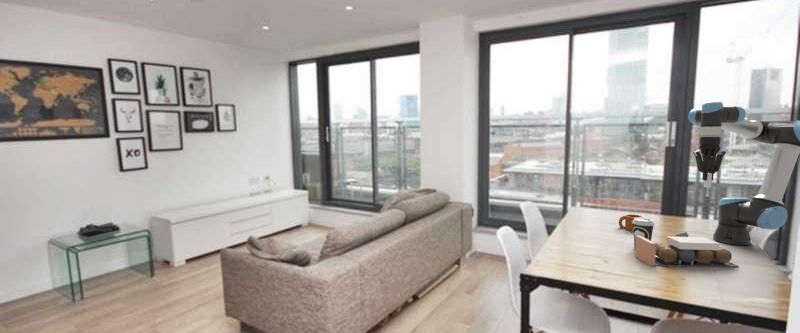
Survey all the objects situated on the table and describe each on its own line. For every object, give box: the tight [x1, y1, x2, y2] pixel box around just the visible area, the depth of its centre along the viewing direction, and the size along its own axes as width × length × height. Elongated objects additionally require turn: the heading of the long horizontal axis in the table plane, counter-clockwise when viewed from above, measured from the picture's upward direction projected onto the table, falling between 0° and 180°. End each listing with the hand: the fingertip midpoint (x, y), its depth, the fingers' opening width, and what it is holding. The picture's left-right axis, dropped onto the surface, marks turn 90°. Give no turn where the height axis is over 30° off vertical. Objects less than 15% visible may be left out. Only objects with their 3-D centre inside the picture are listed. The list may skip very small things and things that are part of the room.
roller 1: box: [655, 242, 677, 262], centre depth 178 cm, size 10×6×6 cm, turn 175°
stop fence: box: [634, 235, 657, 267], centre depth 179 cm, size 2×13×10 cm, turn 175°
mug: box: [618, 213, 644, 232], centre depth 231 cm, size 9×12×9 cm
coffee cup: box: [632, 217, 655, 249], centre depth 196 cm, size 10×10×15 cm
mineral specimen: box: [672, 232, 689, 237], centre depth 192 cm, size 10×8×10 cm
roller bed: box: [654, 255, 739, 268], centre depth 178 cm, size 34×14×2 cm, turn 85°
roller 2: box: [667, 244, 695, 263], centre depth 178 cm, size 10×6×6 cm, turn 175°
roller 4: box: [710, 246, 733, 263], centre depth 176 cm, size 10×6×6 cm, turn 175°
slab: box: [666, 235, 720, 250], centre depth 177 cm, size 16×10×3 cm, turn 85°
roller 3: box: [690, 249, 713, 263], centre depth 177 cm, size 10×6×6 cm, turn 175°
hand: (707, 187), depth 183 cm, fingers closed
